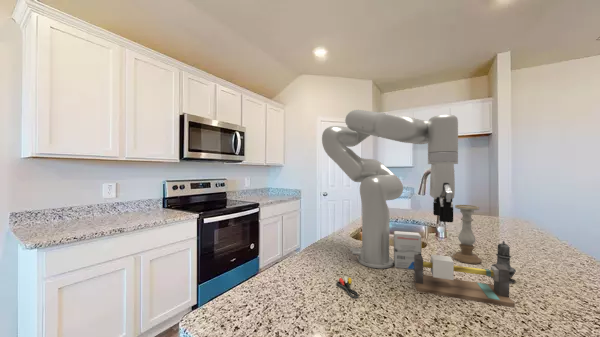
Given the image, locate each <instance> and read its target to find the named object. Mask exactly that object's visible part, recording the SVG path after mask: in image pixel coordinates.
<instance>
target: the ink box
mask: <svg viewBox="0 0 600 337" xmlns="http://www.w3.org/2000/svg"><path fill="white" fill-rule="evenodd" d="M414 254H416V255H422V235H421V234H420V233H419V232H412V231H411V232H410V231H402V230H401V231H399V230H394V231H393V260H394V265H393V266H394V268H397V269H398V268H399V269H407V270H408V269H409V270H414Z"/></svg>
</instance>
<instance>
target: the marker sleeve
mask: <svg viewBox="0 0 600 337" xmlns="http://www.w3.org/2000/svg"><path fill="white" fill-rule="evenodd" d="M430 262H431V263H432V268H430V273H431V274H432V275H431V276H433V277H436V278H443V279H450V280H454V279H455V278H454V272H455V271H454V266H455V265H454V264H455V262H454V260H453V259H452V258H451V256H449V255H448V256H447V255H440V254H430Z"/></svg>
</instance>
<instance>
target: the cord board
mask: <svg viewBox="0 0 600 337" xmlns="http://www.w3.org/2000/svg"><path fill="white" fill-rule="evenodd" d="M493 264H494V266H491V265H490V268H489V269H488V268H478V267H477V268H476V267H470V266H461V265H454V272H458V273H467V274H474V275H481V276H486V277H490V278H491V279H492V281H493V284H492V283H491V284H490V283H485V282H484V283H483V282H477V281H471V280H470V281H469V280H462V279H458V278H457V279H455V278H454V280H450V279H443V278H436V277H433V276H432V275H429V274H424V268H428V269H431V268H432V263H431V261H424V257H423V255H422V254H421V255H416V254H414V269H413V270H414V271H413V273H412V274H413V276H412V278H413V280H414V286H415V290H416V292H419V293H425V294H430V295H438V296H443V297H449V298H455V299H461V300H467V301H473V302H478V303H486V304H491V305H497V306H504V307H508V308H509V307H510V308H515V306H516V304H515V302H514V301H513V300H512V299H511V298H510V283H509V270H508V269H507V268H506V267H505V266H504V265H501V264H496V263H493Z"/></svg>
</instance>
